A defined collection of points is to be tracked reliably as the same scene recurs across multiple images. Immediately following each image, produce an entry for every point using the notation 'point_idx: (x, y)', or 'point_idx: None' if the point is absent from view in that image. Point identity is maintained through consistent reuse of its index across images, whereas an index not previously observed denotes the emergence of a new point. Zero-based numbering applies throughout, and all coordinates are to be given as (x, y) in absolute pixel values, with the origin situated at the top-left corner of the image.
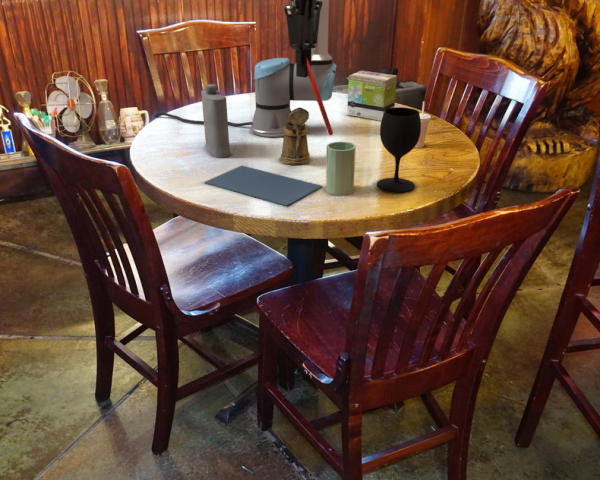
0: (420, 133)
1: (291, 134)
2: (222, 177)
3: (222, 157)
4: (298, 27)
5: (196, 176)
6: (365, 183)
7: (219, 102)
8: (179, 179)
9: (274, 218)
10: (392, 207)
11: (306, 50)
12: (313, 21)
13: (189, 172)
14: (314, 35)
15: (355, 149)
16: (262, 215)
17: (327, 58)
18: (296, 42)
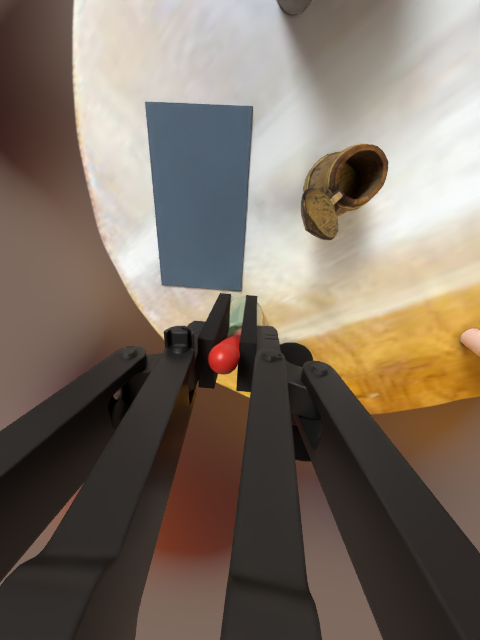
0: (478, 354)
1: (324, 186)
2: (181, 118)
3: (281, 5)
4: (48, 515)
5: (160, 51)
6: (281, 330)
7: None
8: (127, 26)
9: (127, 289)
10: (230, 377)
11: (209, 386)
12: (369, 557)
13: (167, 10)
14: (305, 445)
15: None
16: (123, 272)
17: None
18: (108, 408)
